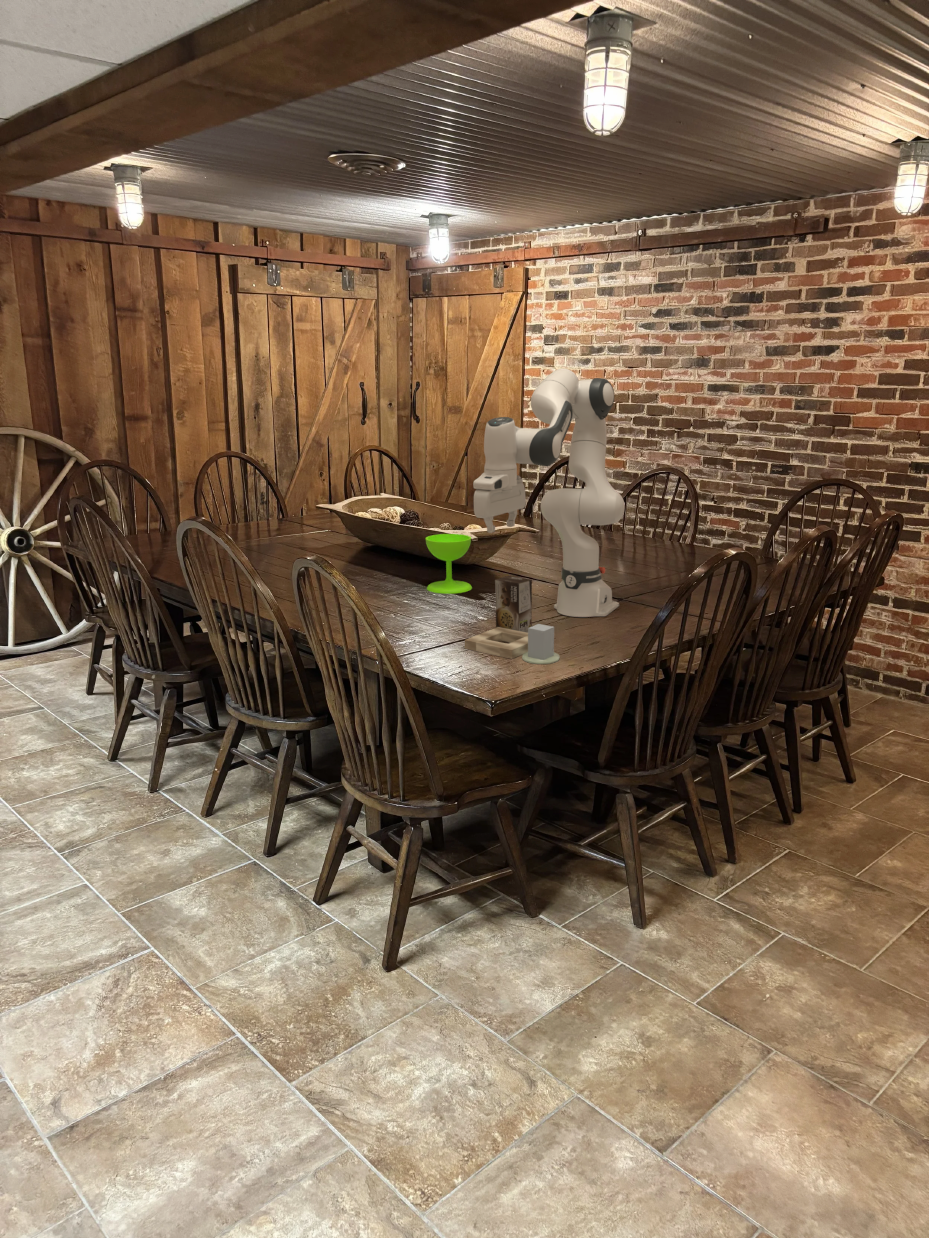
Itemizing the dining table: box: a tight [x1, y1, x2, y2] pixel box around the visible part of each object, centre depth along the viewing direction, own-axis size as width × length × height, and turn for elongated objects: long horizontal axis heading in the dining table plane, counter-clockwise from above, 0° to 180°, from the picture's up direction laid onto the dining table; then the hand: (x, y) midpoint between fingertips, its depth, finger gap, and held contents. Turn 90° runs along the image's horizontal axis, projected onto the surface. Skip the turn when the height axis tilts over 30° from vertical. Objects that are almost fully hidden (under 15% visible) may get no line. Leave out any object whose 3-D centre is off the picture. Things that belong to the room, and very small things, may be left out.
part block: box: [528, 623, 555, 660], centre depth 244 cm, size 5×5×8 cm
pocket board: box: [464, 627, 528, 660], centre depth 256 cm, size 16×16×2 cm
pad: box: [521, 652, 560, 665], centre depth 245 cm, size 10×10×1 cm
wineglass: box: [425, 533, 473, 595], centre depth 321 cm, size 16×16×18 cm
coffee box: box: [494, 575, 533, 633], centre depth 267 cm, size 9×6×16 cm
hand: (501, 529), depth 252 cm, fingers open, 8 cm apart
